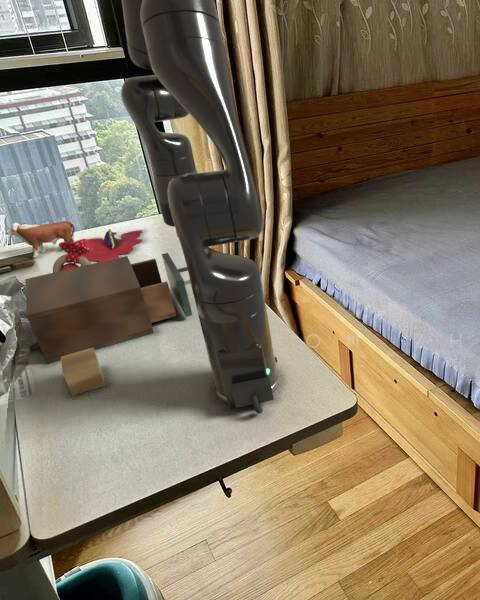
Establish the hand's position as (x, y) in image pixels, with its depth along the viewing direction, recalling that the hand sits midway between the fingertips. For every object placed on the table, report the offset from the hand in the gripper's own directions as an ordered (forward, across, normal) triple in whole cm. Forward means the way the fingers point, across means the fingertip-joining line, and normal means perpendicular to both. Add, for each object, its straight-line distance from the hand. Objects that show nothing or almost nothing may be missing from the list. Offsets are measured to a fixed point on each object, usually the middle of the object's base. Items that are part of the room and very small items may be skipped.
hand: (200, 280), depth 105 cm
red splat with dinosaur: (+4, +38, +12) cm, 40 cm away
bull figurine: (+4, +43, +25) cm, 50 cm away
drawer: (+3, 0, +8) cm, 9 cm away
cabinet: (+4, 0, +19) cm, 20 cm away
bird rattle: (+4, +19, +20) cm, 27 cm away
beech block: (+4, -16, +22) cm, 28 cm away
